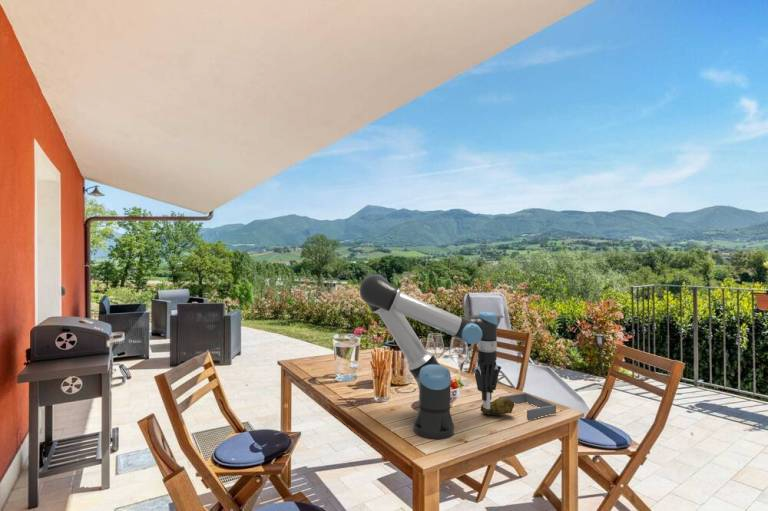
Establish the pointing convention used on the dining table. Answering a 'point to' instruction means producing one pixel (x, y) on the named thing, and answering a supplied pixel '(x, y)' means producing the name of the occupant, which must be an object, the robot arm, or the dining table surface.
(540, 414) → the box
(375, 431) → the dining table surface
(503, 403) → the potato
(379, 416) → the dining table surface
